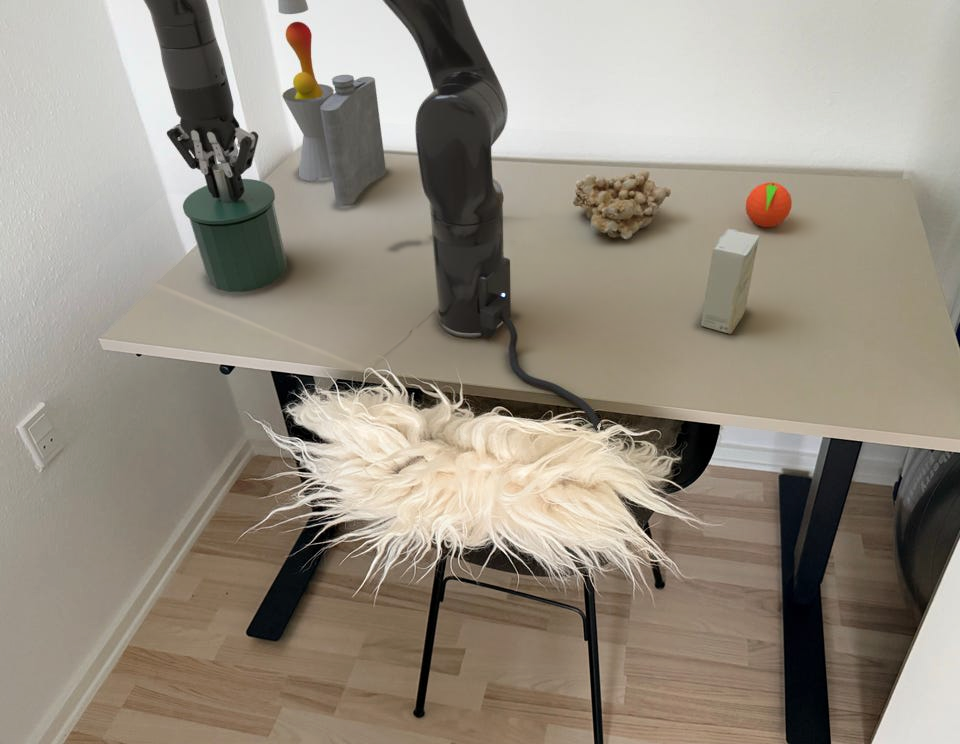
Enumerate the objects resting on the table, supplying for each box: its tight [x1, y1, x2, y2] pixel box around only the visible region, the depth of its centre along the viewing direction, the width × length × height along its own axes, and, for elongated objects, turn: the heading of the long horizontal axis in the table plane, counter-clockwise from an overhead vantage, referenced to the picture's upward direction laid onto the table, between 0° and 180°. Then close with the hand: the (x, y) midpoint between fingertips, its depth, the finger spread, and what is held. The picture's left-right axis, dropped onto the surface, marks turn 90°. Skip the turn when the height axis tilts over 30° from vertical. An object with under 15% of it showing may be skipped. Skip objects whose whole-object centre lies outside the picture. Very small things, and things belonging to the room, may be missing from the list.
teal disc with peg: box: [182, 162, 276, 224], centre depth 114 cm, size 13×13×6 cm
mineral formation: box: [572, 169, 672, 240], centre depth 129 cm, size 8×13×15 cm
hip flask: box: [320, 74, 387, 207], centre depth 138 cm, size 16×4×20 cm, turn 159°
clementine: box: [745, 181, 793, 228], centre depth 126 cm, size 8×7×7 cm
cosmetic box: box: [700, 228, 760, 335], centre depth 106 cm, size 6×4×12 cm
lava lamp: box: [277, 0, 335, 183], centre depth 139 cm, size 9×9×35 cm
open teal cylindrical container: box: [188, 201, 288, 293], centre depth 120 cm, size 12×12×12 cm
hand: (228, 196), depth 115 cm, fingers closed on teal disc with peg, 2 cm apart
